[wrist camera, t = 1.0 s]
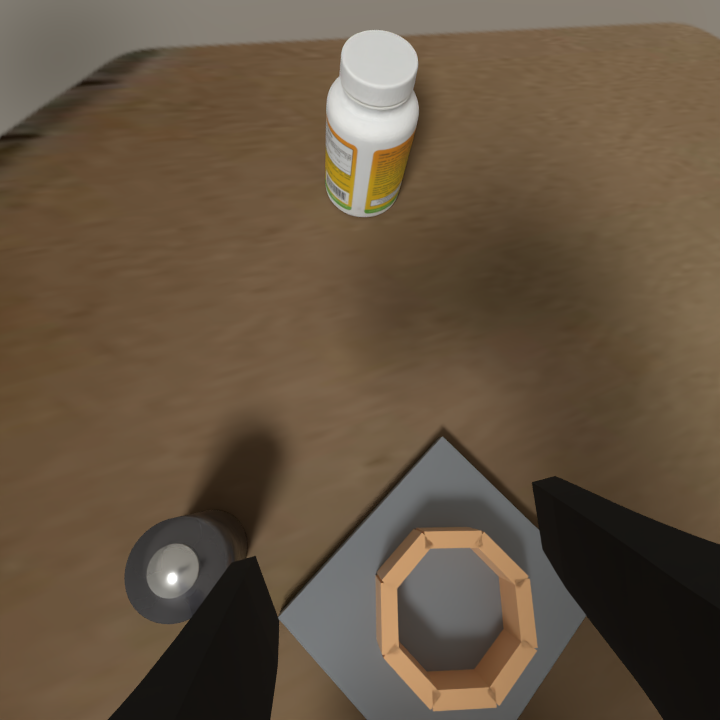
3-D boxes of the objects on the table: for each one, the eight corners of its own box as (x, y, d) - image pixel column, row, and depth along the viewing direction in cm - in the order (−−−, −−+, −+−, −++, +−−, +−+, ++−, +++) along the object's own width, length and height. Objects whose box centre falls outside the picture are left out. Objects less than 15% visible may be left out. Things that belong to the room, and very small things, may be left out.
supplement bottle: (402, 166, 31) (437, 30, 22) (393, 226, 29) (426, 107, 20) (331, 151, 31) (337, 9, 22) (318, 211, 29) (318, 84, 20)
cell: (204, 607, 22) (163, 651, 16) (155, 550, 22) (98, 572, 16) (262, 547, 23) (243, 568, 17) (214, 494, 23) (180, 496, 18)
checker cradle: (447, 804, 20) (466, 853, 17) (279, 613, 22) (273, 630, 19) (592, 588, 24) (627, 601, 21) (438, 437, 25) (452, 432, 23)
